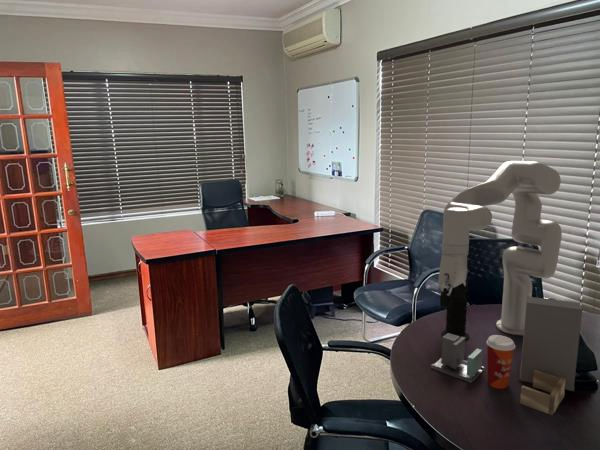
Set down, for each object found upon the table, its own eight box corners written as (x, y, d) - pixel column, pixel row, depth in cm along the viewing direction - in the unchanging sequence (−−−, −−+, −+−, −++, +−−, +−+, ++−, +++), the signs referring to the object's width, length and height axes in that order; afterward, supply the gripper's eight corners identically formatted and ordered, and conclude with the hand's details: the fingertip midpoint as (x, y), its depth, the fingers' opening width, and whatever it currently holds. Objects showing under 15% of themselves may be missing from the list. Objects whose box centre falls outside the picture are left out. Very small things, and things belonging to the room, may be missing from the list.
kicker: (448, 356, 144) (450, 331, 142) (481, 367, 136) (483, 341, 135) (438, 365, 139) (440, 338, 137) (472, 377, 132) (473, 349, 130)
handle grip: (442, 341, 157) (472, 343, 155) (445, 270, 151) (476, 271, 149) (439, 329, 166) (467, 330, 164) (442, 262, 161) (471, 263, 159)
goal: (533, 385, 129) (535, 367, 127) (564, 395, 123) (566, 377, 122) (520, 403, 120) (521, 384, 119) (552, 415, 115) (554, 395, 114)
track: (444, 356, 146) (444, 353, 146) (484, 370, 137) (484, 366, 137) (431, 367, 139) (431, 364, 139) (471, 382, 131) (471, 379, 130)
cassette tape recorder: (571, 381, 130) (580, 301, 125) (573, 392, 125) (583, 309, 120) (519, 371, 136) (526, 295, 131) (519, 381, 131) (526, 302, 126)
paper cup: (500, 394, 125) (503, 348, 122) (478, 381, 132) (480, 338, 129) (518, 386, 128) (521, 342, 125) (496, 374, 135) (498, 331, 132)
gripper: (455, 241, 141) (453, 291, 144) (429, 252, 129) (427, 307, 132) (479, 245, 136) (476, 297, 139) (454, 256, 123) (451, 313, 127)
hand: (452, 302), depth 136 cm, fingers open, 9 cm apart
